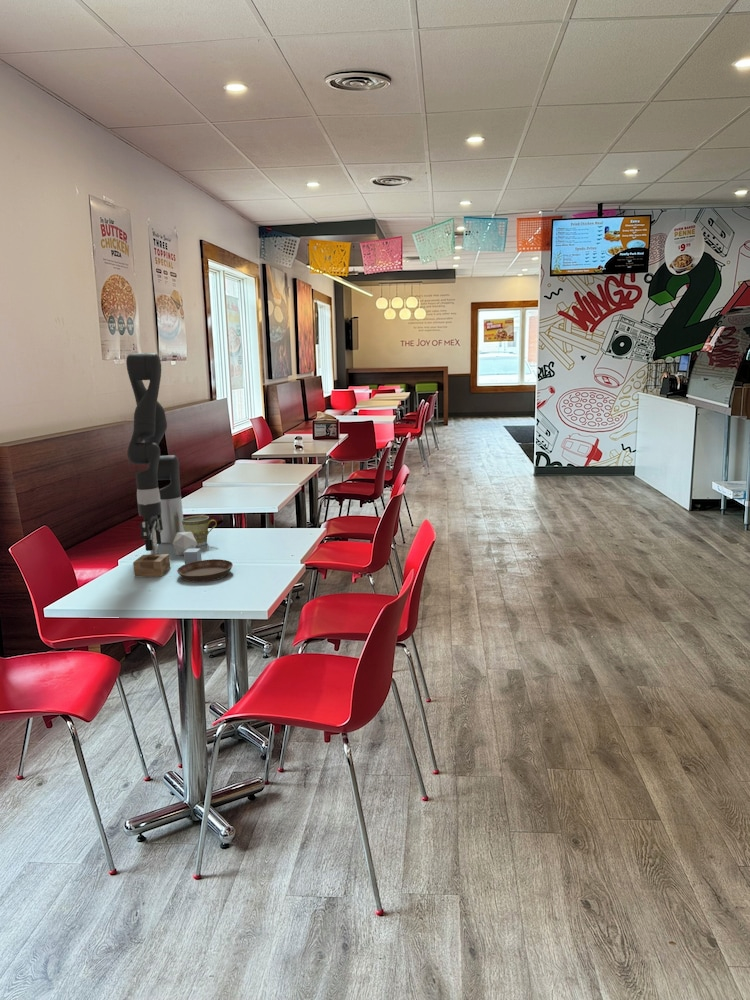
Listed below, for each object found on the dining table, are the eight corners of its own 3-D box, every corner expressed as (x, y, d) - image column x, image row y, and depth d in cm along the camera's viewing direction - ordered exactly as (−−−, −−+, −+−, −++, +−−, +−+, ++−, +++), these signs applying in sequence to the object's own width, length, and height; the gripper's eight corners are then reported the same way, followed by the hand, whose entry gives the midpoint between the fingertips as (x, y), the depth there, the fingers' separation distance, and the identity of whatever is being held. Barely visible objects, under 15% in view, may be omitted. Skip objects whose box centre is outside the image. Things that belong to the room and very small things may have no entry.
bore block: (144, 568, 253) (143, 554, 252) (170, 568, 252) (169, 554, 251) (134, 577, 244) (133, 562, 243) (161, 576, 244) (160, 561, 243)
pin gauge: (153, 562, 260) (149, 529, 258) (160, 562, 260) (156, 528, 258) (150, 564, 258) (147, 530, 256) (157, 564, 258) (154, 530, 256)
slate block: (189, 562, 259) (187, 548, 258) (201, 562, 258) (200, 548, 257) (185, 566, 254) (183, 552, 253) (198, 566, 254) (196, 551, 253)
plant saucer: (178, 587, 232) (177, 577, 232) (177, 571, 249) (176, 562, 248) (236, 580, 237) (235, 570, 237) (230, 565, 254) (229, 556, 253)
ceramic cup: (180, 548, 278) (178, 521, 276) (188, 541, 288) (186, 515, 286) (215, 546, 278) (213, 520, 276) (221, 540, 288) (219, 514, 286)
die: (188, 559, 265) (201, 535, 267) (166, 548, 264) (179, 524, 266) (190, 561, 273) (202, 538, 275) (168, 551, 272) (181, 527, 274)
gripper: (145, 497, 262) (150, 542, 265) (130, 505, 248) (135, 553, 251) (166, 496, 261) (171, 541, 265) (152, 504, 247) (157, 552, 251)
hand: (153, 547), depth 258 cm, fingers open, 8 cm apart
